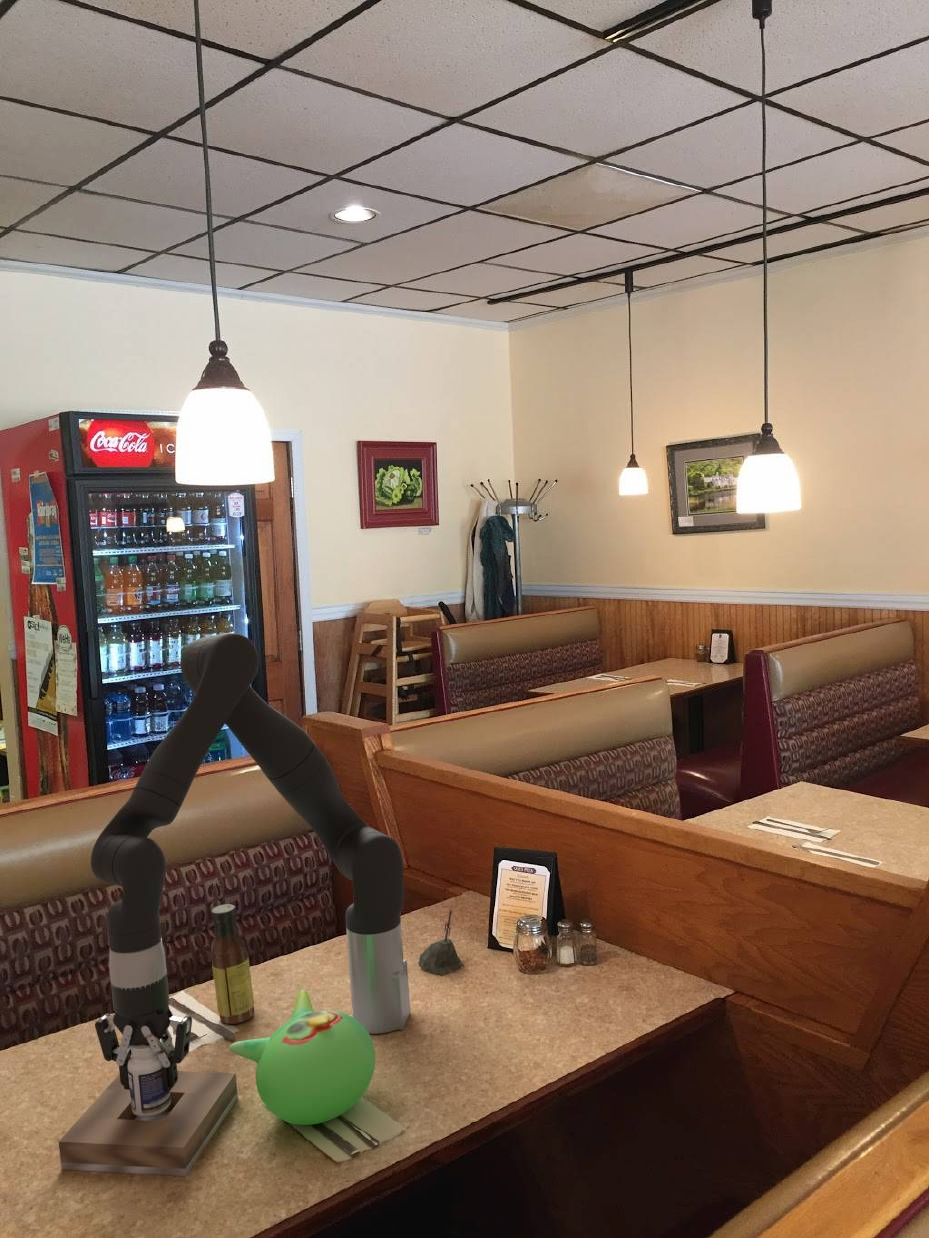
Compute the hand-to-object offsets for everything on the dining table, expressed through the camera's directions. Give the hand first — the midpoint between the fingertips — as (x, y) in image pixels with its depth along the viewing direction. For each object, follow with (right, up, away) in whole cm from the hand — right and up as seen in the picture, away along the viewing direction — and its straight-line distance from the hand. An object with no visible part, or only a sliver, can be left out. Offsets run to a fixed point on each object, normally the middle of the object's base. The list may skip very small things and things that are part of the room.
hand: (149, 1086), depth 145 cm
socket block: (0, -7, +1) cm, 7 cm away
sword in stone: (+40, 0, +49) cm, 63 cm away
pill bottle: (0, -3, 0) cm, 3 cm away
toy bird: (+23, -5, +4) cm, 24 cm away
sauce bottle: (+5, -3, +33) cm, 34 cm away
